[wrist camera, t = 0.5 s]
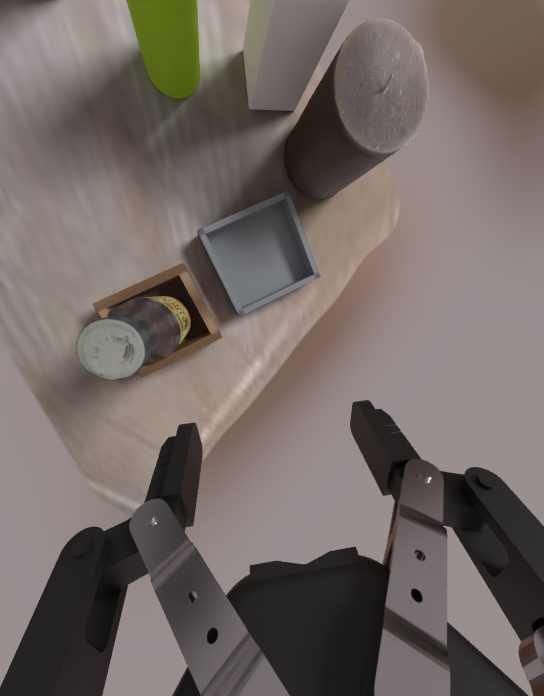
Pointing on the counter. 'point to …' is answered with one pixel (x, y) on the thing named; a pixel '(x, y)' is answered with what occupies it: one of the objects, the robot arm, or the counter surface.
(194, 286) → the collar
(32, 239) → the counter surface
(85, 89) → the counter surface
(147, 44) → the soap dispenser
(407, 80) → the pillar candle
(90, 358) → the sauce bottle
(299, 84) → the milk
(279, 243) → the tray
